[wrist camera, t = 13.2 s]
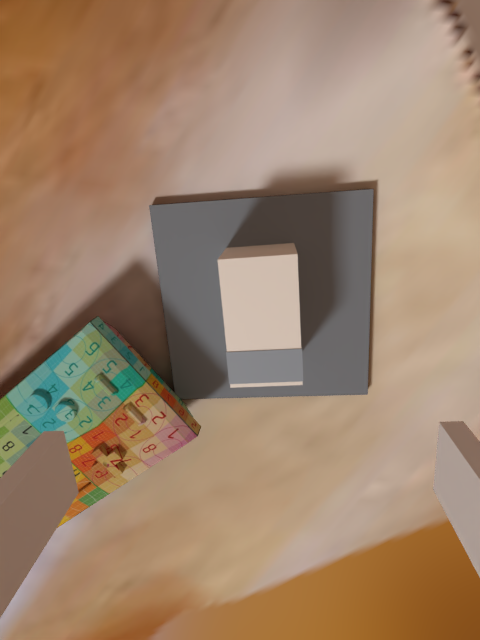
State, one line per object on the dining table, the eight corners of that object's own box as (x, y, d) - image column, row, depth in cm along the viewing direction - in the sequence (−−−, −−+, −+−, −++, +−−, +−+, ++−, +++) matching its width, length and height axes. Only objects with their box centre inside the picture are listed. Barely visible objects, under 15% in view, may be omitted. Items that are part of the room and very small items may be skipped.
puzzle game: (195, 443, 30) (31, 549, 36) (207, 409, 35) (59, 509, 41) (84, 326, 28) (-72, 460, 34) (111, 305, 32) (-31, 427, 38)
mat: (177, 395, 35) (175, 399, 35) (151, 205, 30) (149, 205, 30) (366, 390, 34) (367, 394, 33) (371, 188, 29) (373, 189, 28)
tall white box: (225, 247, 30) (216, 259, 25) (294, 242, 30) (298, 254, 25) (236, 358, 33) (229, 388, 28) (299, 355, 33) (303, 385, 28)
